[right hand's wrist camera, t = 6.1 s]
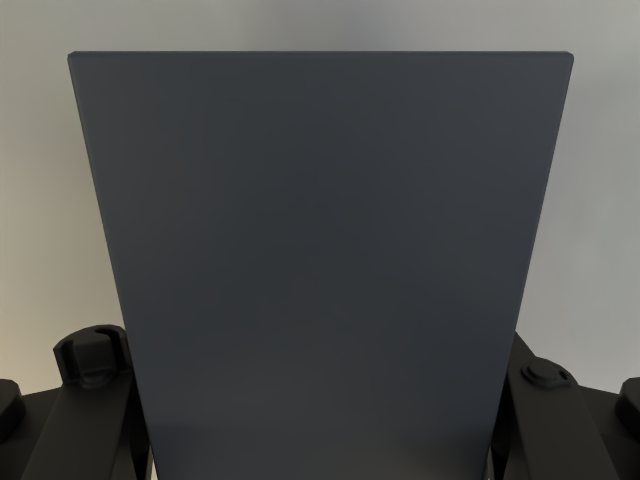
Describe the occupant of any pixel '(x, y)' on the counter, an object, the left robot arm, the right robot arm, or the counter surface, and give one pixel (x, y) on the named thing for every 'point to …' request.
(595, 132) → the counter surface
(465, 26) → the counter surface
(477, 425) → the bar
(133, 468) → the right robot arm
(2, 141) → the counter surface
